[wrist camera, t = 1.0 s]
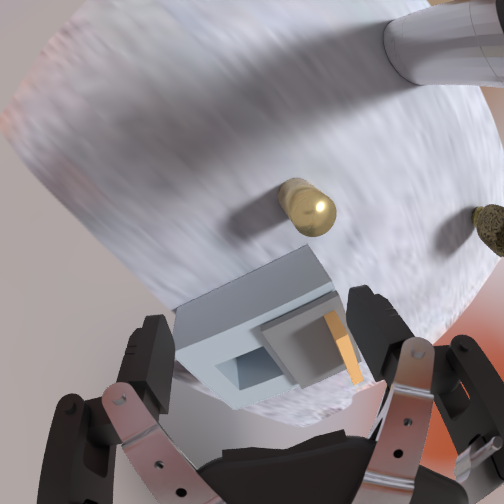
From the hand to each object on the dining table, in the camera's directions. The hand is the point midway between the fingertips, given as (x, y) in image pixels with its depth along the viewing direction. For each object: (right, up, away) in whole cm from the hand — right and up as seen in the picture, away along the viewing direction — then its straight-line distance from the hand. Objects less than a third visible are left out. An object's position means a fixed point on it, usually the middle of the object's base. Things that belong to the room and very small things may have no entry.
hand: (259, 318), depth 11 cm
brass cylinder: (+4, +9, +18) cm, 20 cm away
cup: (+36, +9, +22) cm, 43 cm away
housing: (+1, -6, +25) cm, 25 cm away
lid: (+7, -7, +17) cm, 19 cm away
